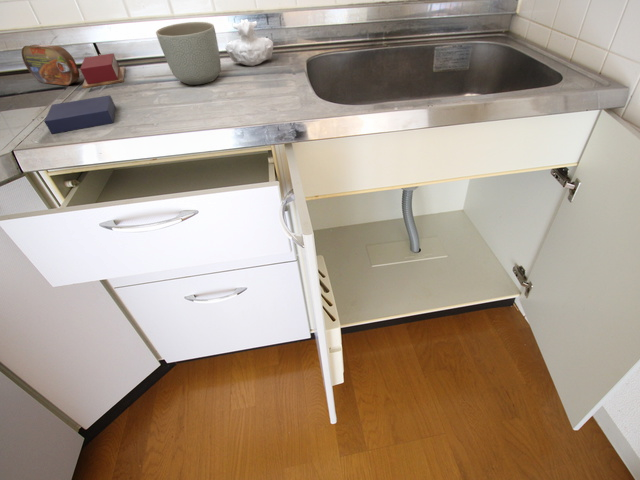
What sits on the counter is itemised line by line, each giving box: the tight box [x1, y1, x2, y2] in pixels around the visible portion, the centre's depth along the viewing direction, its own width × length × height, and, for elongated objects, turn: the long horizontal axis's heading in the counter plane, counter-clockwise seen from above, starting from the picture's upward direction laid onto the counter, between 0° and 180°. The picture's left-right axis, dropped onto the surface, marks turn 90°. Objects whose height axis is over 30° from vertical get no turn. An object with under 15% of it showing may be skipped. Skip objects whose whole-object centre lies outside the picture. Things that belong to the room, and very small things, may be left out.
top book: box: [80, 53, 120, 84], centre depth 97 cm, size 7×10×4 cm
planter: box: [155, 21, 222, 86], centre depth 90 cm, size 12×12×11 cm
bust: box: [225, 18, 274, 67], centre depth 98 cm, size 12×8×11 cm
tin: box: [21, 44, 80, 86], centre depth 94 cm, size 15×3×8 cm, turn 69°
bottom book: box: [43, 94, 117, 135], centre depth 78 cm, size 11×9×2 cm
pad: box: [81, 66, 126, 89], centre depth 98 cm, size 9×12×1 cm
